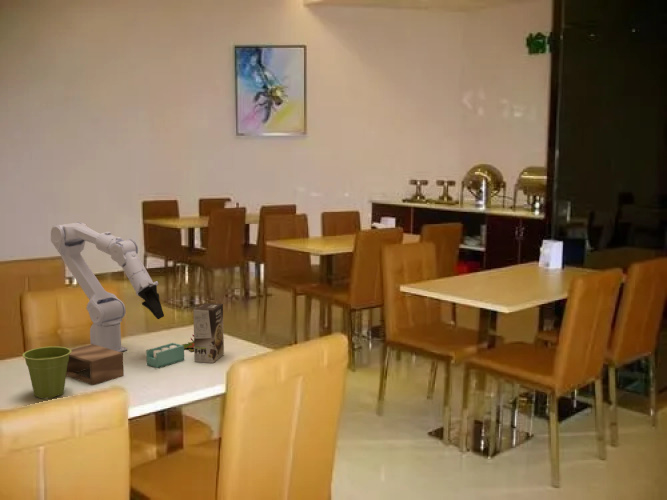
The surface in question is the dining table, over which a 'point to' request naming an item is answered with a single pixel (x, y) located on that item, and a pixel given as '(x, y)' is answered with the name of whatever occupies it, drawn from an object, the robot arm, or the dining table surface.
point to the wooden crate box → (95, 364)
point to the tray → (165, 355)
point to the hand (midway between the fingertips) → (160, 314)
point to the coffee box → (208, 332)
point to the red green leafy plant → (189, 345)
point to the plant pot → (47, 370)
